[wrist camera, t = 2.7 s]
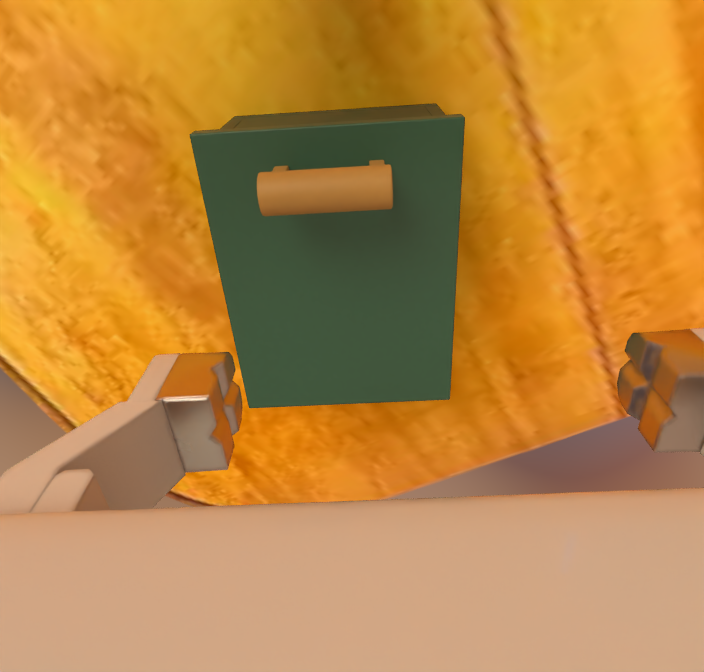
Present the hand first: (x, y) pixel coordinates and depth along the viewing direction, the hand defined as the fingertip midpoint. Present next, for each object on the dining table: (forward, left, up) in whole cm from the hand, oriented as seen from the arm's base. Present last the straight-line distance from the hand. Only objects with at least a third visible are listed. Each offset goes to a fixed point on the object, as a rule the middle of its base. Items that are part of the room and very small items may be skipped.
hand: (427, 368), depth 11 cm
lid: (+5, -5, -17) cm, 18 cm away
